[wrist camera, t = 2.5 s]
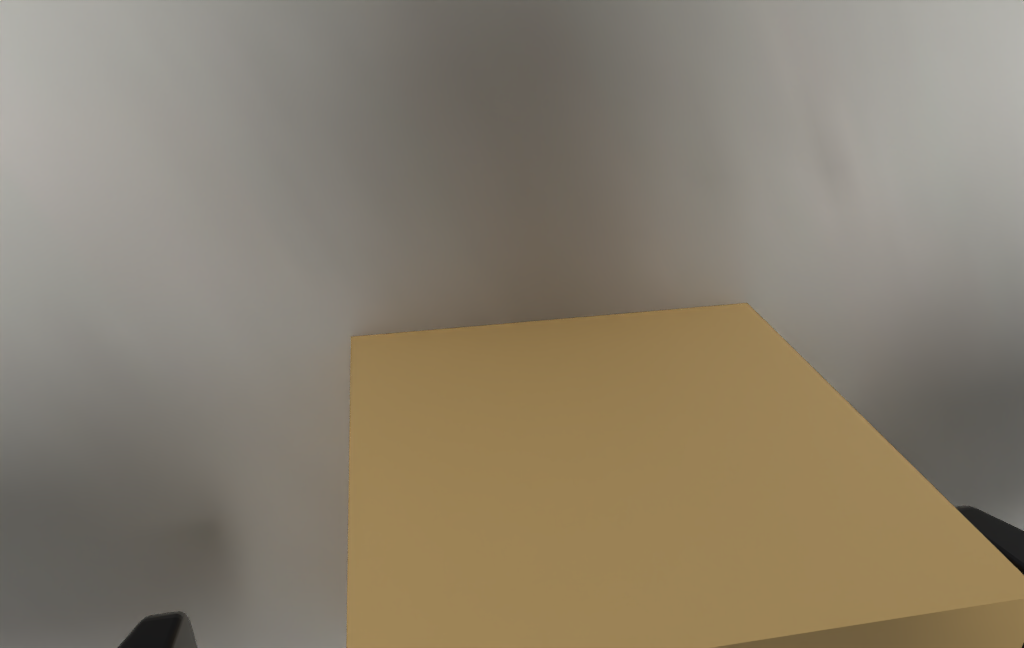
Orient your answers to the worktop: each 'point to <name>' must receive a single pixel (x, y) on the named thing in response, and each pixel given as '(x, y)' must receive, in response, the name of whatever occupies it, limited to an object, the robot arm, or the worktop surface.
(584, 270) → the worktop surface
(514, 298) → the worktop surface
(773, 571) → the ochre cube
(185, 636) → the robot arm
